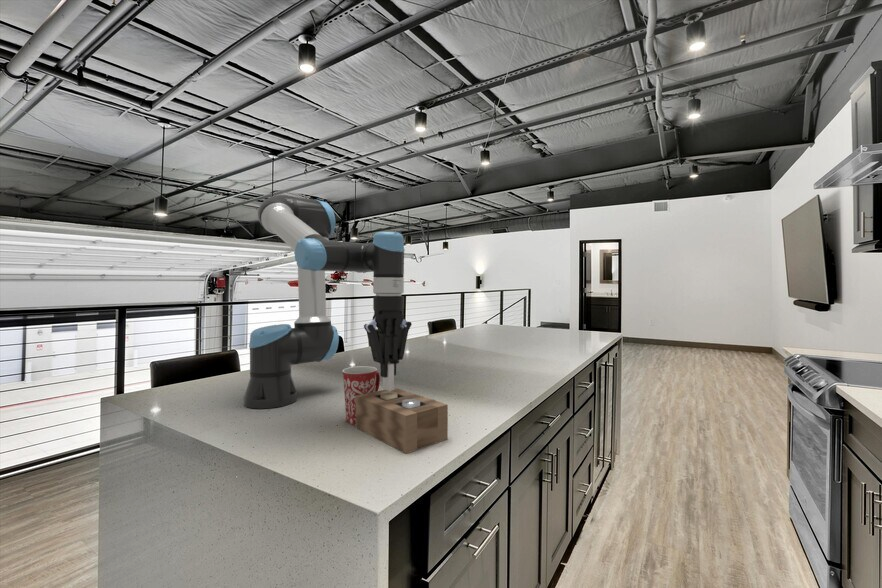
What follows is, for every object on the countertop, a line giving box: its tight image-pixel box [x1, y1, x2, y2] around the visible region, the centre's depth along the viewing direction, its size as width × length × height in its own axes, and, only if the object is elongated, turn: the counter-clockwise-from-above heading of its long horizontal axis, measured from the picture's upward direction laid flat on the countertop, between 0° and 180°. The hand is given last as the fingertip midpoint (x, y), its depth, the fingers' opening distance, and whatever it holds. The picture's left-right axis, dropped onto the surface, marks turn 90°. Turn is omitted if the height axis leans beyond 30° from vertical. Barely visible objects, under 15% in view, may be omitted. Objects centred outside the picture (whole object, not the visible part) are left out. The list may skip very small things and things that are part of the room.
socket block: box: [355, 387, 449, 454], centre depth 94 cm, size 21×12×8 cm, turn 42°
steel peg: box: [402, 399, 420, 409], centre depth 91 cm, size 4×4×8 cm
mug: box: [341, 365, 381, 425], centre depth 105 cm, size 13×9×14 cm
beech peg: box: [381, 391, 398, 400], centre depth 97 cm, size 4×4×8 cm
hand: (388, 389), depth 97 cm, fingers closed
